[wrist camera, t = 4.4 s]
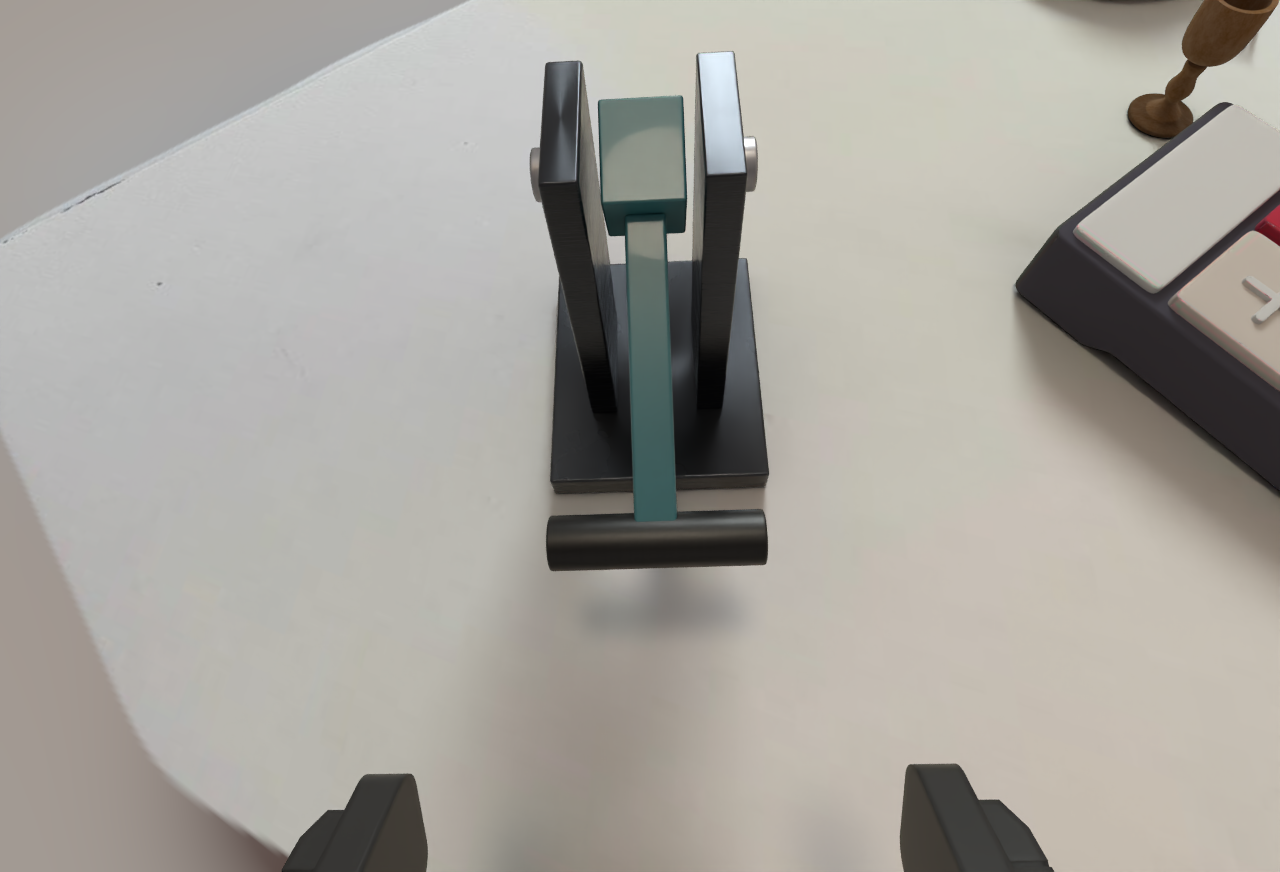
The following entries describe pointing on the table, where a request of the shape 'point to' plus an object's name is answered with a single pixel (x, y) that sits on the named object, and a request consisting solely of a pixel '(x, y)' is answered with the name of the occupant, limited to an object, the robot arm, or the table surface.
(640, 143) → the lever
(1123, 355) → the calculator
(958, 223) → the table surface
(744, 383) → the bracket
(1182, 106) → the place setting
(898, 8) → the table surface
